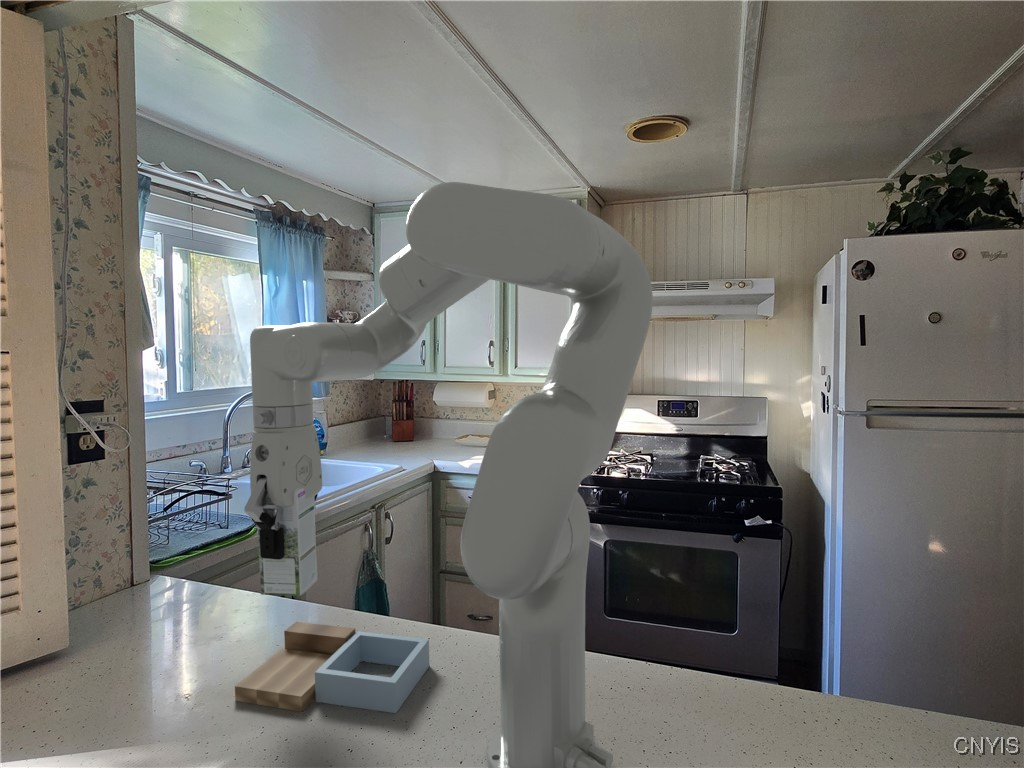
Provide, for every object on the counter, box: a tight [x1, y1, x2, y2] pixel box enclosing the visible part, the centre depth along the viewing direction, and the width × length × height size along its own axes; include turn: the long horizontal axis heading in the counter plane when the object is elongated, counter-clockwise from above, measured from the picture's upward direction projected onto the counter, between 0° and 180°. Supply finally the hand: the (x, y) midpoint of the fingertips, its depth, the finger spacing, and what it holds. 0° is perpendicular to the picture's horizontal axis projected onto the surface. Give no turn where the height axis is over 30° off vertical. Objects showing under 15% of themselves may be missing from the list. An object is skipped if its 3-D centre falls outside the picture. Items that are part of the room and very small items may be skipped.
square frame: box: [315, 630, 430, 714], centre depth 82 cm, size 11×11×4 cm
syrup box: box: [257, 488, 319, 597], centre depth 81 cm, size 6×6×14 cm
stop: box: [283, 621, 356, 655], centre depth 88 cm, size 10×3×4 cm, turn 76°
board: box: [234, 647, 332, 713], centre depth 82 cm, size 10×10×2 cm
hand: (288, 547), depth 81 cm, fingers closed on syrup box, 6 cm apart
